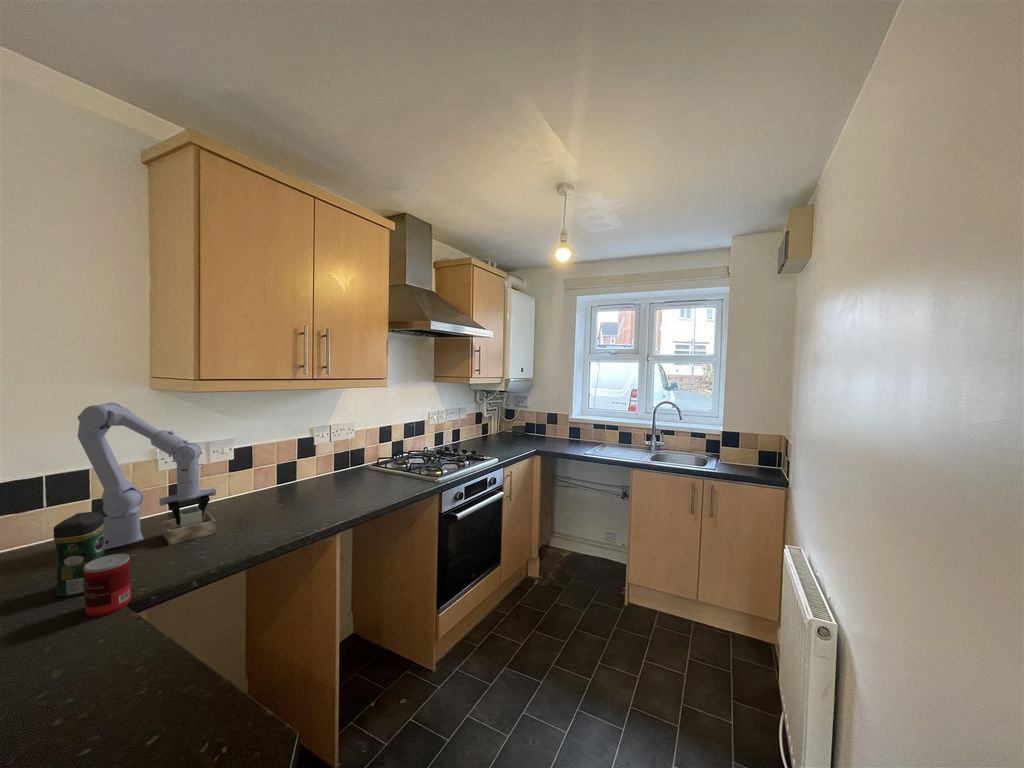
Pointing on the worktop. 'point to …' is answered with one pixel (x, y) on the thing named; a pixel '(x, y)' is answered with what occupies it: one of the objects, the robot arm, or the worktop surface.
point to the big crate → (188, 530)
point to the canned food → (107, 584)
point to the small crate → (190, 517)
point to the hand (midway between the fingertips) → (189, 521)
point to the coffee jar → (77, 550)
